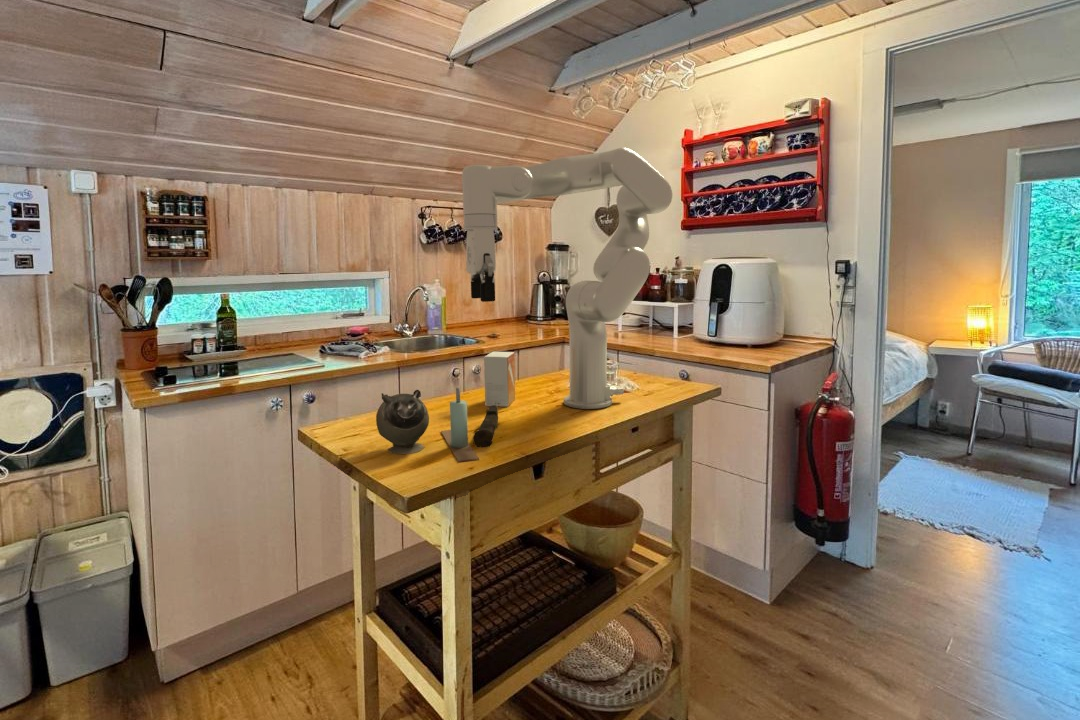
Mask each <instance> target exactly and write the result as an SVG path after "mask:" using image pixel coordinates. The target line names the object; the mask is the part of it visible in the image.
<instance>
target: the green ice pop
mask: <svg viewBox="0 0 1080 720" xmlns="http://www.w3.org/2000/svg"><path fill="white" fill-rule="evenodd" d="M455 397H456V398H455V399H456V400H452V401H450V402H449V414H450V415H449V417H450V419H449V421H450V422H449V423H450V430H451V446H452V447H455V448H462V447H466V446H468V443H469V436H468V435H469V433H468V429H469V427H468V402H467V401H466V400H461V387H456V388H455Z"/></svg>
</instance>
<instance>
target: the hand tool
mask: <svg viewBox="0 0 1080 720" xmlns="http://www.w3.org/2000/svg"><path fill="white" fill-rule="evenodd" d="M498 409H499V408H498V406H496V405H493V406H488V408H486V411H485V416H484V418H483V420H482V422H481V424H480V426H479V427H478V430H476V431H474V433H473V445H474V446H475V447H476V448H482V449H483V448H490V447H491V446H492V444H493V439H494V435H495V433H496V430H497V429H498V427H499V411H498Z"/></svg>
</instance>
